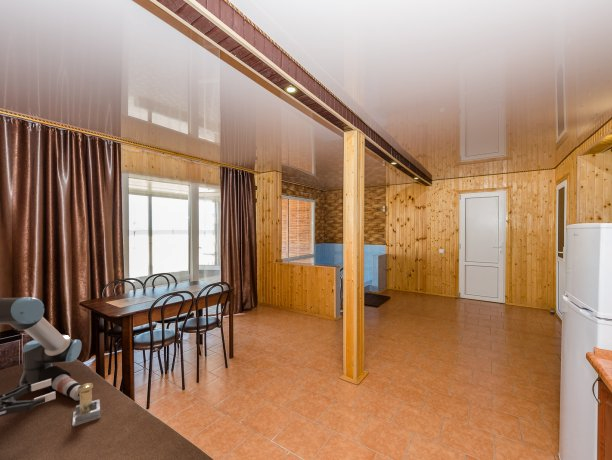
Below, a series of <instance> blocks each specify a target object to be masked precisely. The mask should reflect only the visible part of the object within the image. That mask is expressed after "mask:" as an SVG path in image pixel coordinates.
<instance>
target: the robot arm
mask: <svg viewBox="0 0 612 460" xmlns="http://www.w3.org/2000/svg"><path fill="white" fill-rule="evenodd" d="M44 313H45V305H44V303H43V301H42V300H40V299H39V298H36V297H30V296H24V297H0V325H10V326H11V327H12V328H13V329H15V331H24V332H25V333H26V334H27V335H28V336H29V337H31V338H32V339H33V340H31V341H28V342H27V343H24V345H23V351H22V360H23V362H22V363H23V373H22V375H21V377H20V379H19V386H18V387H15V388H13V389H12V390H9V391H7V392H4V393H2V394H0V417H4V416H7V415H12V414H17V413H18V414H19V413H23V412H29V411H33V410H34V409H35V406H38V405H41V404H44V403H47V402H49V401H53V400H56V394H57V392H52V391H51V392H49V393H46V394H44V395H40V396H38V397H35V398H33V399H25V400H17V399H19V398H21V397H22V396H25V395H26V394H28V393H29V392H34V391H37V390H41V389H44V388H45V387H47V386H51V379H48V380H45V381H42V382H39V381H38V379H39V376H40V374H41V373H42V372H43V371H44V370H45V369H46V368H48V367H50V366H54V365H53V364H58V363H59V364H60V363H71V362H74V361H76V360H77V358H79V356H80V353H81V351H82V341H81V340H80V339H72V338H70V336H69V335H66V334H61V333H60V332H59V330H58V329H56V328H55V327H54V326H53V325H52V324H51V323H50V322H49V321H48V320H47V319H46V318H45V317H44Z"/></svg>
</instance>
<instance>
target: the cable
mask: <svg viewBox="0 0 612 460" xmlns="http://www.w3.org/2000/svg"><path fill="white" fill-rule="evenodd" d="M48 379H51V386H47V387H44V388H46V389H47V390H49V391H50V392H51V393H52V392H55V393H57V392H58V393H60V394H62V395H65V396H66V397H69V398H71V399H73V400H74V401H80V395H79V392H78V387H79V386H81V385H82V384H80V383H79V382H78V381H77V380H76V379H73V378H72V375H71V373H70V372H69V371H67V370H66V369H64V368H61V367H60V366H58V365H53V366H50V367H48V368H46V369H45V370H44V371H43V372H42V373H41V374H40V376H39V379H38V381H39V382H42V381H45V380H48Z"/></svg>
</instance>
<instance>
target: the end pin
mask: <svg viewBox="0 0 612 460" xmlns="http://www.w3.org/2000/svg"><path fill="white" fill-rule="evenodd" d="M80 385H81V386H79V387H78V392H79V395H80V400H79V405H80V414H82V413H86V412H89V411H92V401H93V390H92V389H93V388H94V383H92V382H87V383H84V384H80Z"/></svg>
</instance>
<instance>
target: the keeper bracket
mask: <svg viewBox="0 0 612 460" xmlns="http://www.w3.org/2000/svg"><path fill="white" fill-rule="evenodd" d="M100 418H101V402H100V399H95V400H92V411H89V412H86V413H82V414H80V404H77V405H76V406H75V410H74V411H73V414H72V423H71V424H72V425H71V426H72V427H76V426H80V425H83V424H86V423H89V422H93V421H95V420H98V419H100Z"/></svg>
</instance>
